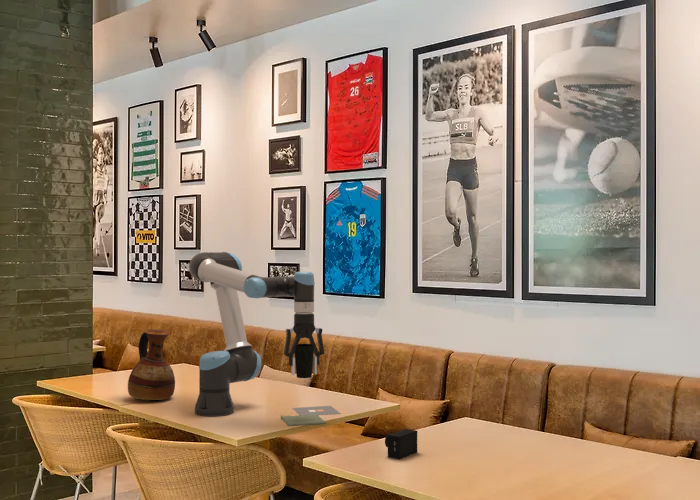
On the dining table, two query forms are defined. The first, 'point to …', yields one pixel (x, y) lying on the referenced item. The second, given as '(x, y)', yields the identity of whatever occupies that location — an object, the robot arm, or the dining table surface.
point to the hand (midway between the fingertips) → (304, 374)
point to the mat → (302, 420)
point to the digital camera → (401, 443)
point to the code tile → (316, 410)
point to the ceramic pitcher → (152, 369)
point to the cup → (304, 360)
